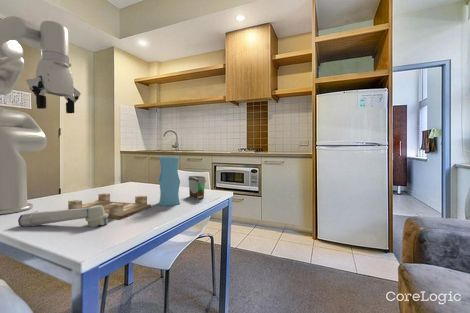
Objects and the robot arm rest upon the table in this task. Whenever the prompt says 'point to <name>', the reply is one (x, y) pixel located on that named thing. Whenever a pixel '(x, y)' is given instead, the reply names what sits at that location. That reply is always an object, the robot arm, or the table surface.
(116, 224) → the table surface
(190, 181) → the food container
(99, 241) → the table surface
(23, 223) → the white electric toothbrush
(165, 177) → the vase
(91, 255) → the table surface
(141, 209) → the v block cradle
